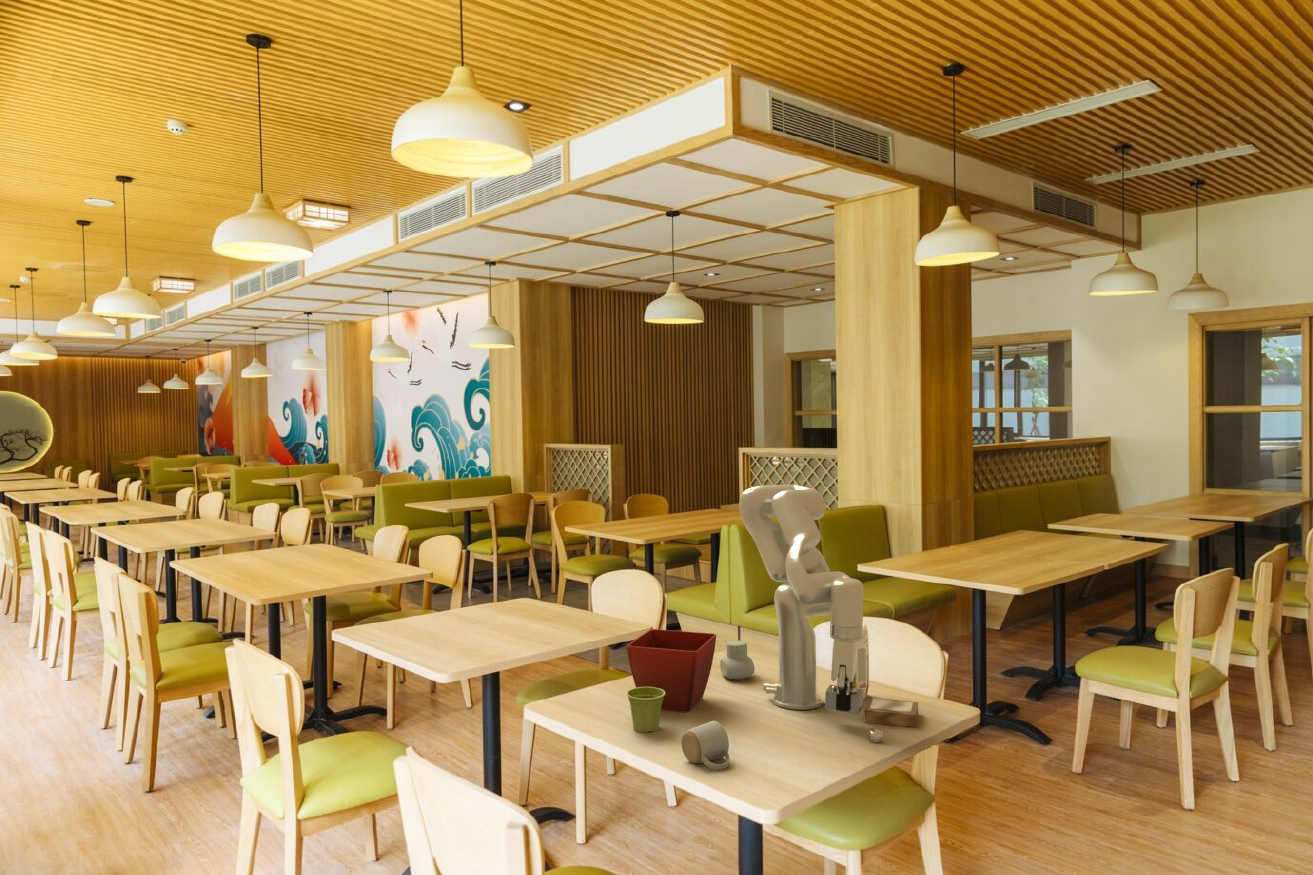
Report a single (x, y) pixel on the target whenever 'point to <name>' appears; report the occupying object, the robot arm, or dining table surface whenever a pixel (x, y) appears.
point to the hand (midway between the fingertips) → (844, 705)
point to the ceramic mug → (706, 745)
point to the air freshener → (737, 661)
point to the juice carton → (862, 664)
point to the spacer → (876, 736)
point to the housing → (855, 699)
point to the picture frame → (891, 712)
